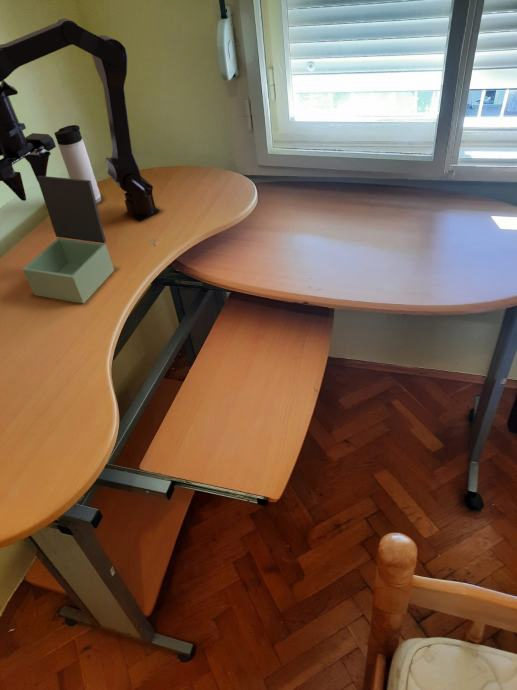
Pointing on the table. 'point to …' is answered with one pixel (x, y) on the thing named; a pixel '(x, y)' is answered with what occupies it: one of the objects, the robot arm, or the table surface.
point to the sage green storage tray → (69, 270)
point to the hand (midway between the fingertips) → (33, 193)
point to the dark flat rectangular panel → (72, 208)
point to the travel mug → (76, 156)
